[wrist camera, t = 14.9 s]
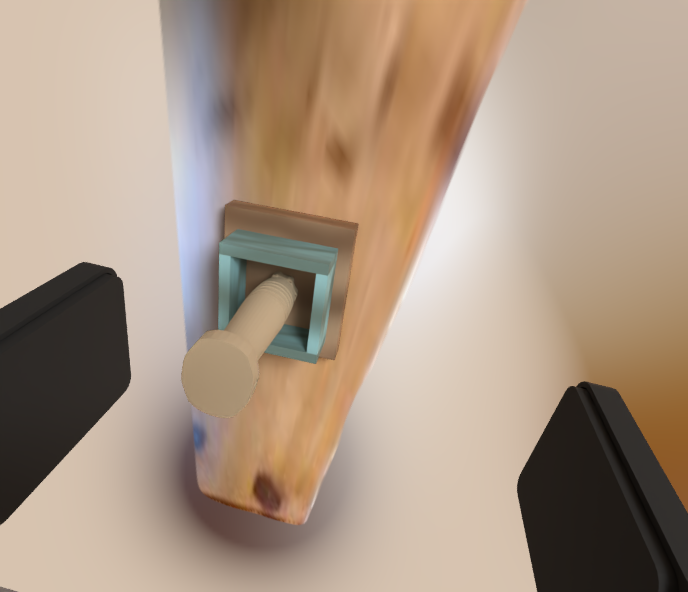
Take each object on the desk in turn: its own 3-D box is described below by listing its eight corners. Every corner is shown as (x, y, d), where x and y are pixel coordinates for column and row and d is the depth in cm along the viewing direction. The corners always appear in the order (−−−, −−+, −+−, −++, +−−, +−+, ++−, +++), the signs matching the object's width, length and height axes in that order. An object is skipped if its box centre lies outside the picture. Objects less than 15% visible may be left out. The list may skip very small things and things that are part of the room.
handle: (252, 305, 44) (177, 403, 31) (266, 247, 41) (188, 328, 28) (298, 321, 44) (242, 426, 31) (315, 265, 41) (260, 354, 28)
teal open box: (233, 199, 42) (205, 217, 36) (358, 223, 41) (347, 245, 35) (230, 326, 48) (205, 356, 43) (338, 349, 47) (326, 384, 42)
